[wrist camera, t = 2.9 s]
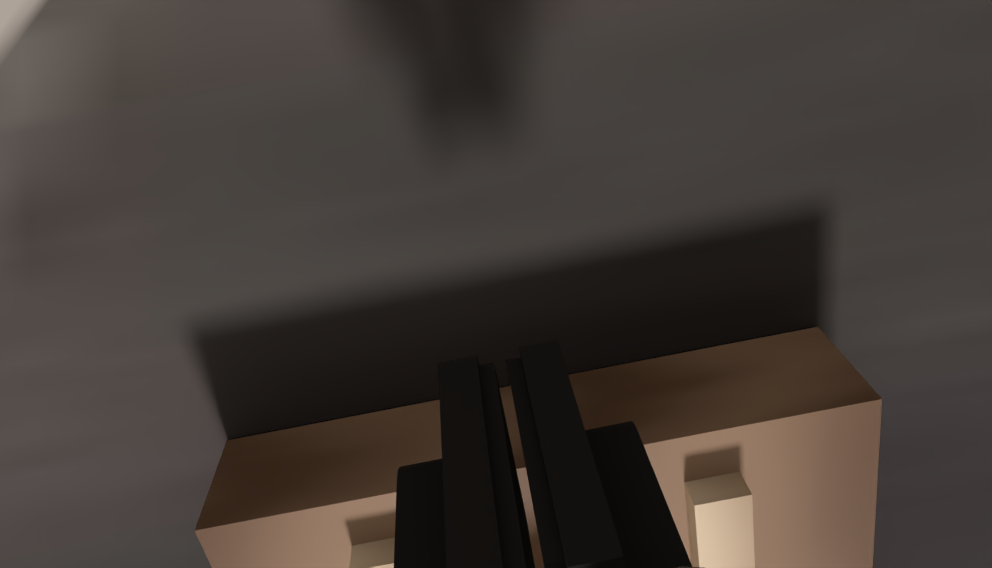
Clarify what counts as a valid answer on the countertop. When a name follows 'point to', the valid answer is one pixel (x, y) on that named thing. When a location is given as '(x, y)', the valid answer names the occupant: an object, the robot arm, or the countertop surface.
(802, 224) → the countertop surface
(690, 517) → the runway
